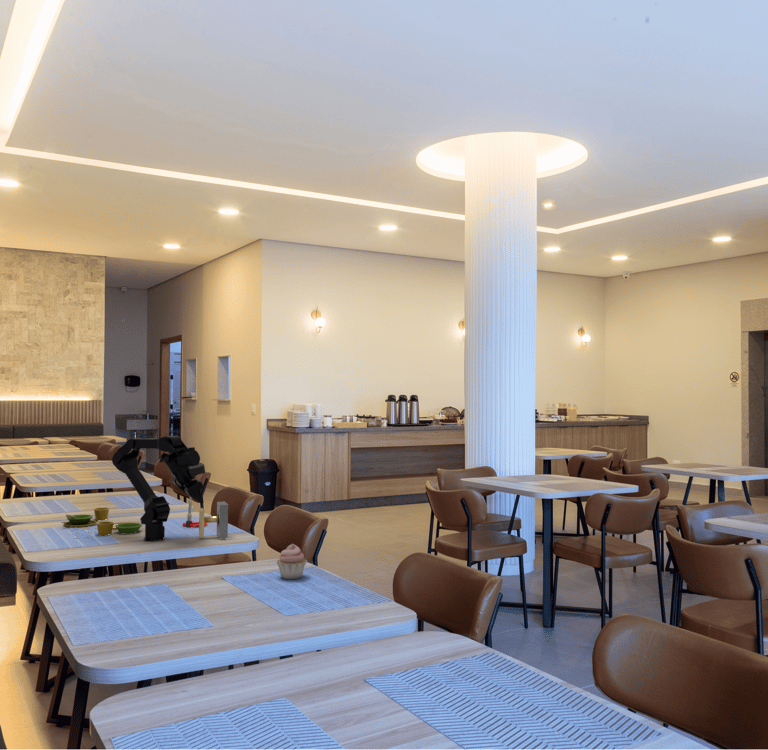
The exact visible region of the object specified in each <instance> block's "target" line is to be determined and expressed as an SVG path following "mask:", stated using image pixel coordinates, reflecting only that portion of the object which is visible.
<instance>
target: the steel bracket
mask: <svg viewBox="0 0 768 750" xmlns="http://www.w3.org/2000/svg"><path fill="white" fill-rule="evenodd" d="M216 516H219V522H216V537H217V536H218V537H219V538H228V534H229V533H228V531H229V530H228V528H229V525H228V524H229V504H228V503H227V502H226V501H217V502H216ZM218 537H217V538H218ZM219 538H218V539H219Z"/></svg>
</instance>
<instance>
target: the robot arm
mask: <svg viewBox="0 0 768 750" xmlns="http://www.w3.org/2000/svg"><path fill="white" fill-rule="evenodd" d="M141 449H156V450H158V451H160V452H161V451H162V452H163V453H162V454H161V455H160V459H159V461H158V462H159V463H165V465H166V467H167V468H168V470H169V471H170V475H172V478H171V482H172V483H173V485H174V486H175V487H177V488H178V489H180V490H182V491H183V492H185V494H186V495H187V496H189V498H190V497H192V499H193V500H194V501H196V502H198V503H199V504H201V505H202V504H203V503H204V499H203V494H202V490H203V488H204V487H205V485H204V484H203V482H202V481H201V480H200V479H196V476H198V475H202V474H205V473H206V467H205V464H203V463H202V462H200V461H201V455H200V454H199V453H198V451H197V450H196V448H195V446H193V447H187V445H186V444H185V442H184V441H183V440H182V438H181V436H180V435H166V436H165V435H164V436H161V437H158V438H140V437H133V438H132V437H131V438H129V439H127V441H126V442H125V443H124V444H123V445H122V446H120V447H119V448H118V449H117V451H116V452H114V454H113V456H112V457H111V462H112V464H113V466H114V467H115V468H116V469H117V470H118V471H119V472H121V473H123V474H125V476H126V477H127V479H128V480H129V481H130V484H131V485H132V486H133V488H134V489H135V491H136V493H137V495H139V497H140V498H141V500H142V502H143V504H144V505H143V511H144V514H143V515H142V516H140V519H139V520H140V523H141V524H142V525H144V526H145V528H144V529H145V530H144V541H145V542H151V541H153V542H155V541H154V540H156V541H164V538H165V535H166V533H165V530H166V529H165V525H164V523H165V522H168V519H169V516H170V511H171V507H170V506H169V505H170V503H169V502H168V501H167V500H166V497H165V496H164V495H162V496H158V495H156V493H155V492H154V490H153V489H152V487H151V486H150V484H149V483H148V481H147V479H146V478H145V476H144V475H143V473H142V472H141V470H140V469H139V467H138V461H139V460H138V459H137V458H138V457H139V456H140V451H141Z"/></svg>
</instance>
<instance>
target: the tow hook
mask: <svg viewBox="0 0 768 750" xmlns="http://www.w3.org/2000/svg"><path fill="white" fill-rule="evenodd" d="M192 499H193V498H192V497H190V496H189V499H188V511H187V518H186V521H185V522H183V523H182V527H185V526H186V527H185V528H191V527H193V528H192V529H195V528H197V527H198V528H199V521H193V520H192V505H193V504H192V502H193V501H192ZM206 525H207V526H208V523H204V527H207V526H206ZM194 527H195V528H194Z"/></svg>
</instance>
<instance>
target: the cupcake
mask: <svg viewBox="0 0 768 750" xmlns="http://www.w3.org/2000/svg"><path fill="white" fill-rule="evenodd" d="M307 563H308V560H307V559H305V554H304V553H303V552H302V550H301V548H300V547H299V546H297V545H296V544H294V543H291V544H290V545H289V544H288V546H286V549H283V550H282V551H281V552H280V556H279V559H276V564H277V566H278V569H279V574H280V577H281V578H282V579H284V580H297V579H301V578H302V577H303V575H304V572H305V571H304V570H305V566H306V564H307Z"/></svg>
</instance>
